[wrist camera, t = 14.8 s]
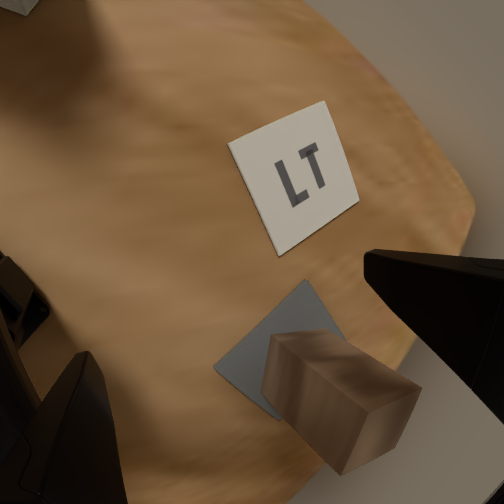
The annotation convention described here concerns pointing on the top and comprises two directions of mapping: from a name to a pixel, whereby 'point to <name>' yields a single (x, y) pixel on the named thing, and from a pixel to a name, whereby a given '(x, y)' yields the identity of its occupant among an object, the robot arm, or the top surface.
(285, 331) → the rubber mat
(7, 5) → the small box
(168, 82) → the top surface
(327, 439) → the walnut block
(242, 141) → the card
